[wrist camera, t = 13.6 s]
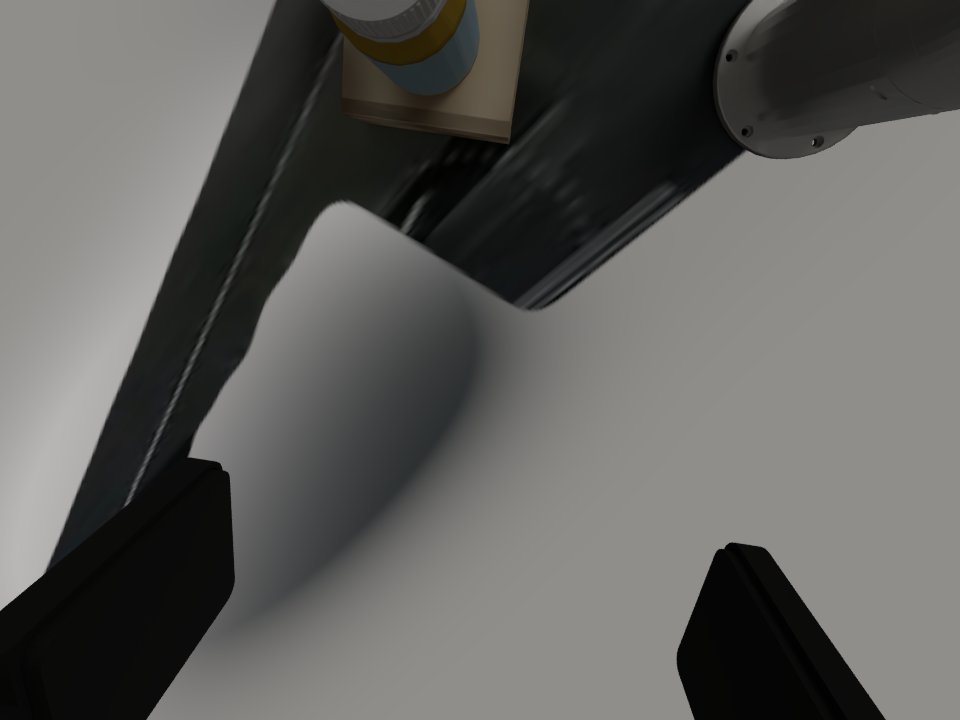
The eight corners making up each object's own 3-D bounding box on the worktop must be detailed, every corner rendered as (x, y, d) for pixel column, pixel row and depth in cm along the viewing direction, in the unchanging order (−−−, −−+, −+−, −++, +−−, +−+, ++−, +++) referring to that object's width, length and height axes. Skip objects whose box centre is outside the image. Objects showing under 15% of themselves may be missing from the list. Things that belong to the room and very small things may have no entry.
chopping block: (534, -33, 36) (539, -74, 30) (509, 144, 40) (508, 137, 34) (373, -57, 36) (347, -101, 30) (364, 122, 40) (340, 112, 34)
